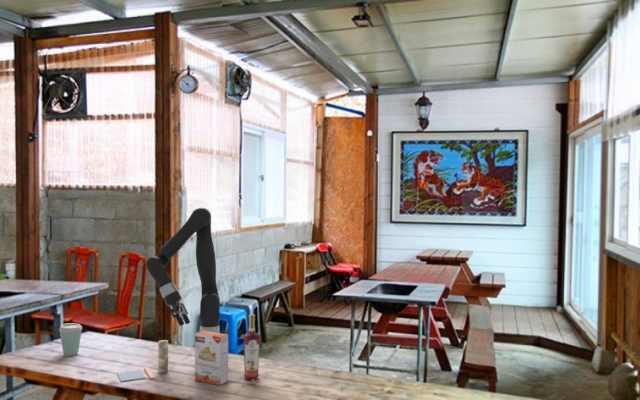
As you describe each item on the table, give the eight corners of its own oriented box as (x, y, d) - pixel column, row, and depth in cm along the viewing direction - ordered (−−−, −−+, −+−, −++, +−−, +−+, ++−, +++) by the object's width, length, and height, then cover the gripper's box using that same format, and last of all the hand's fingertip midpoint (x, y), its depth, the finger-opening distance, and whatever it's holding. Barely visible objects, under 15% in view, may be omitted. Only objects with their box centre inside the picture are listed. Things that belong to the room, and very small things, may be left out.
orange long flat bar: (148, 368, 248) (148, 367, 248) (155, 378, 233) (155, 377, 233) (144, 369, 247) (144, 367, 247) (150, 379, 232) (150, 378, 232)
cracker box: (193, 380, 232) (194, 332, 232) (203, 376, 237) (203, 329, 237) (219, 386, 225) (220, 336, 225) (228, 382, 230) (228, 333, 230)
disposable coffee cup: (86, 351, 273) (86, 322, 273) (74, 358, 262) (74, 327, 263) (66, 351, 274) (67, 322, 274) (54, 357, 264) (54, 326, 264)
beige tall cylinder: (166, 369, 246) (167, 339, 246) (168, 372, 242) (169, 341, 242) (157, 371, 244) (157, 340, 244) (159, 373, 240) (159, 342, 240)
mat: (140, 370, 244) (140, 369, 244) (144, 378, 233) (144, 377, 233) (117, 373, 239) (117, 372, 239) (120, 382, 229) (120, 380, 229)
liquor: (244, 381, 231) (244, 317, 231) (241, 376, 238) (242, 313, 238) (260, 380, 233) (261, 316, 233) (258, 375, 240) (258, 313, 240)
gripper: (171, 290, 248) (187, 321, 245) (182, 289, 262) (196, 319, 259) (157, 298, 248) (173, 329, 245) (169, 297, 262) (183, 326, 259)
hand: (185, 324), depth 252 cm, fingers open, 8 cm apart
